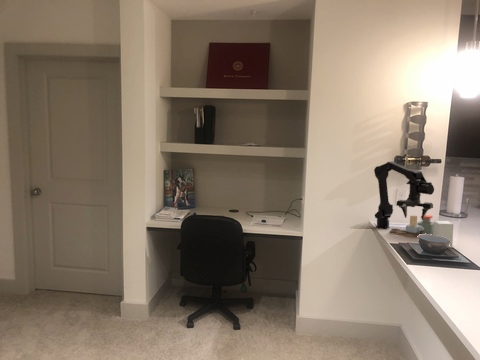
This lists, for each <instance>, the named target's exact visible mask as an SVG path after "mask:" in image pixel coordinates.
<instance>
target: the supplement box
mask: <svg viewBox="0 0 480 360" xmlns="http://www.w3.org/2000/svg"><path fill="white" fill-rule="evenodd" d="M434 235H438V236H443V237H446V238H448V239H450V241H451V242H450V246H452V247H453V241H454V238H453V237H454V223H452V222H451V221H448V220H434V233H433V236H434Z"/></svg>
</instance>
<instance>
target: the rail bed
mask: <svg viewBox="0 0 480 360" xmlns="http://www.w3.org/2000/svg"><path fill="white" fill-rule="evenodd" d="M389 234H393V235H399V236H403V237H410V238H415V239H418V238H417V236H418V235H419V234H425V233H424V230H423V229H422V230H420V232H417V233H414V232H408V231H406V229H405V228H404V229H403V228H397V227H391V229H390V230H389ZM425 235H426V234H425Z"/></svg>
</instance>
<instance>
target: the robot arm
mask: <svg viewBox="0 0 480 360" xmlns="http://www.w3.org/2000/svg"><path fill="white" fill-rule="evenodd" d="M390 171H394V172H396V173H399V174H401V175H404V176H405V178H406V179H407V180H408V181H407V182H406V185H409V193H408V196H407V198H406V199H399V200H397V201H396V204H395V205H396V206H398V208H400V209H401V211H402V213H403V215H404V219H406V218H407V216H408V207H411V208H416V207H422V209H421V212H422V213H421V216H422V218H421V221H423V219H424V216H425V215H427V212H428V211H429V210H432V209H433V208H434V204H433V203H432V202H426V201H425V202H424V203H421V196H422V194H423V195H429V196H431V195H433V193H434V192H435V187H434V185H433V184H432V182H431V181H430V182H428V181H427V179H426V178H425V177H424V174H423V172H422V171H421V170H417V169H411V168H408V167H406V166H404V165H401V164H399V163H397V162H395V161H387V162H386V163H384V164H382V165H378V166H375V168H374V169H373V172H374V176H375V178H376V179H377V181H378V190H379V204H378V207H377V208H378V209H377V210H378V211H377V212H375V213H374V217H375V219H376V226H375V228H379V229H388V228H390V220H389V219H390V218H391V216H392V215H393V211H394V207H393V204H391V203H390V202H389V193H388V192H389V191H388V182H387V179H388V177H389V172H390Z"/></svg>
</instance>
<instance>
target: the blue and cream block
mask: <svg viewBox="0 0 480 360" xmlns="http://www.w3.org/2000/svg"><path fill="white" fill-rule="evenodd" d="M417 223H418V215H416V214H415V215H414V214H412V215H410V216H409V224H408V225H405V230H406V231H408V232H414V233H417V232H419V231H420V230H421V225H417Z"/></svg>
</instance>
